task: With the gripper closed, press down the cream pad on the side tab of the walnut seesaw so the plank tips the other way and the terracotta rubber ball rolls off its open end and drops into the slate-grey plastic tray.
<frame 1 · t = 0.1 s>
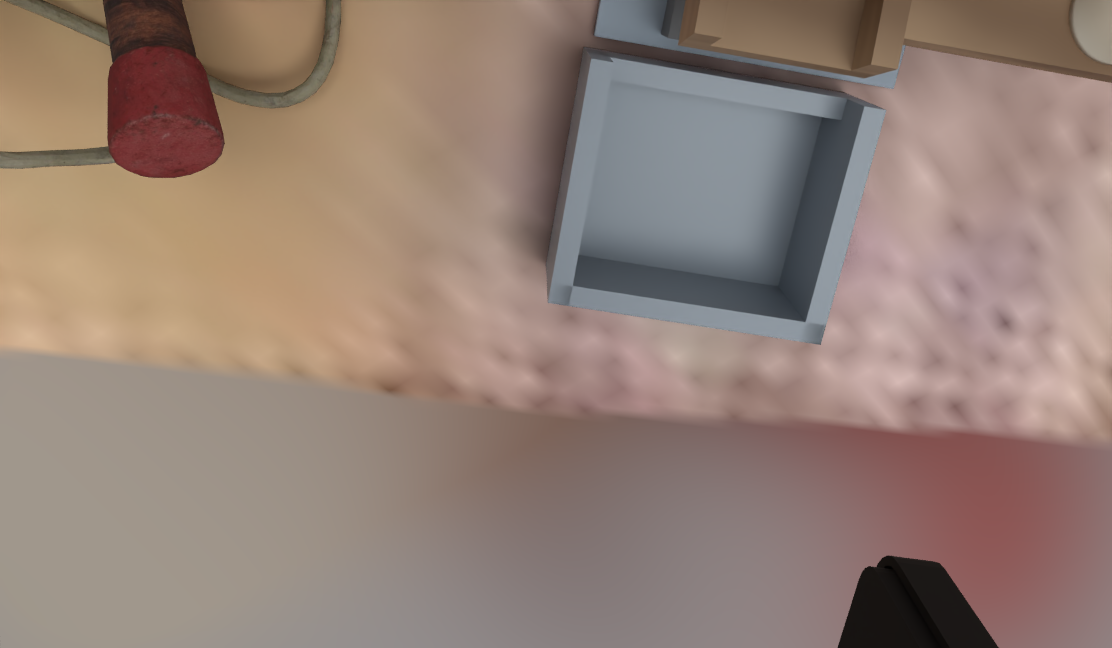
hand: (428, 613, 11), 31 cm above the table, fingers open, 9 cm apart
tray: (691, 180, 41), on the table
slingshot: (178, 1, 38), on the table
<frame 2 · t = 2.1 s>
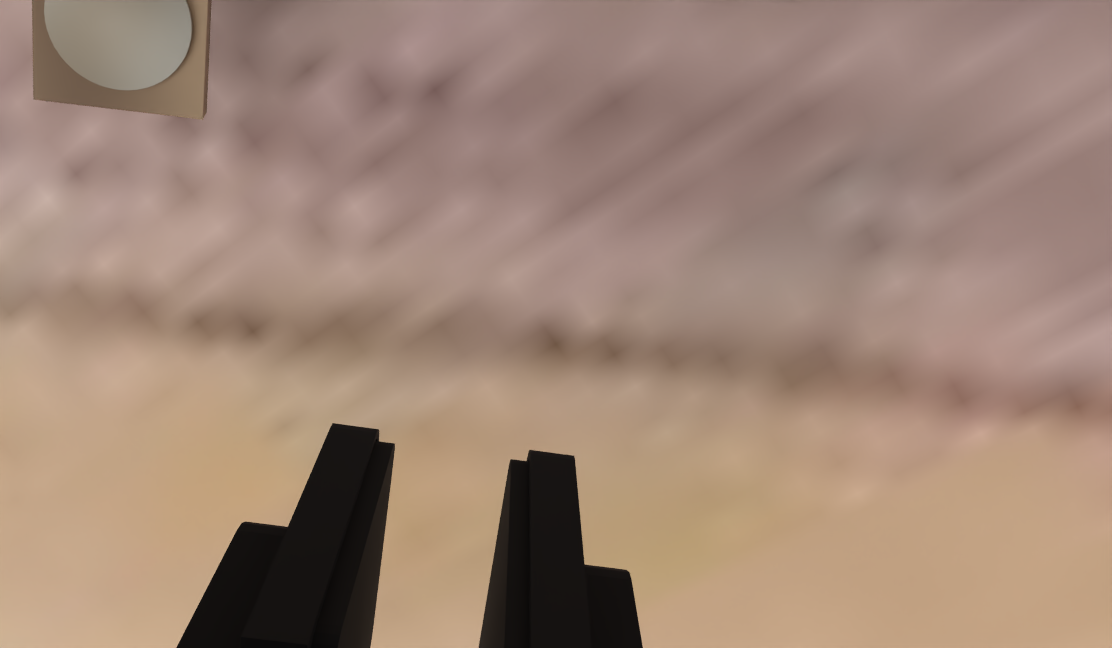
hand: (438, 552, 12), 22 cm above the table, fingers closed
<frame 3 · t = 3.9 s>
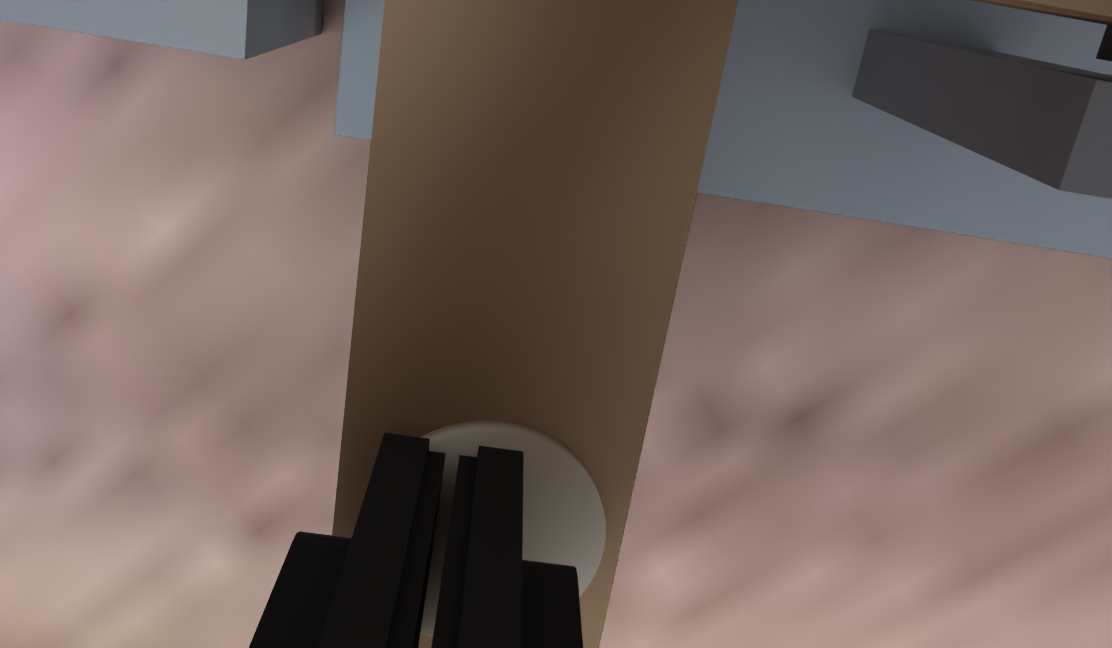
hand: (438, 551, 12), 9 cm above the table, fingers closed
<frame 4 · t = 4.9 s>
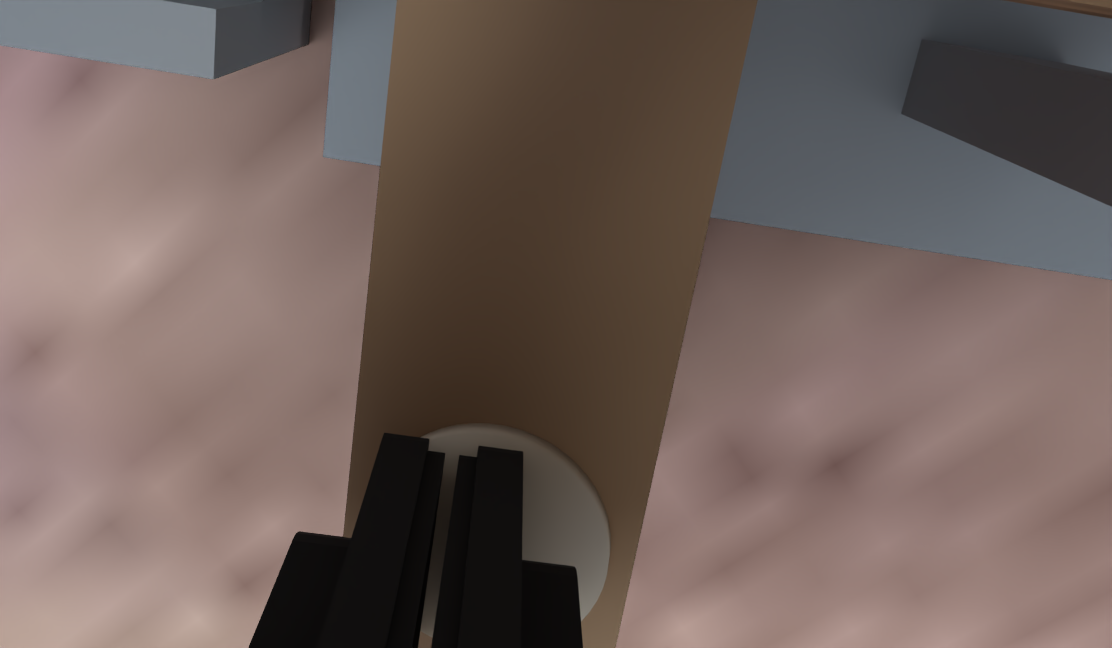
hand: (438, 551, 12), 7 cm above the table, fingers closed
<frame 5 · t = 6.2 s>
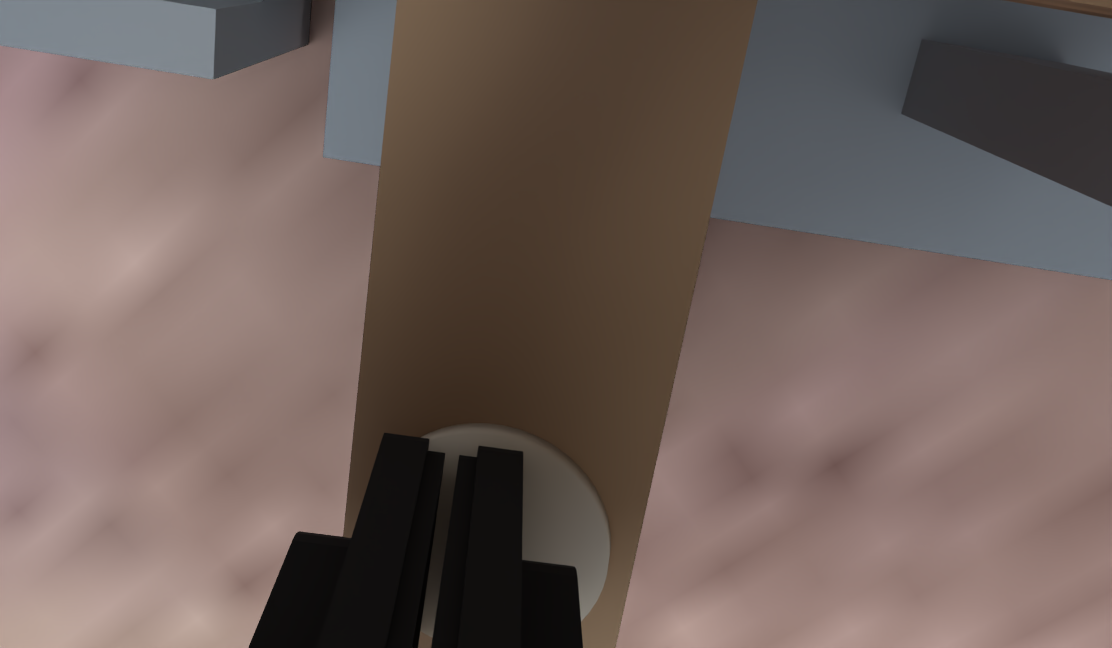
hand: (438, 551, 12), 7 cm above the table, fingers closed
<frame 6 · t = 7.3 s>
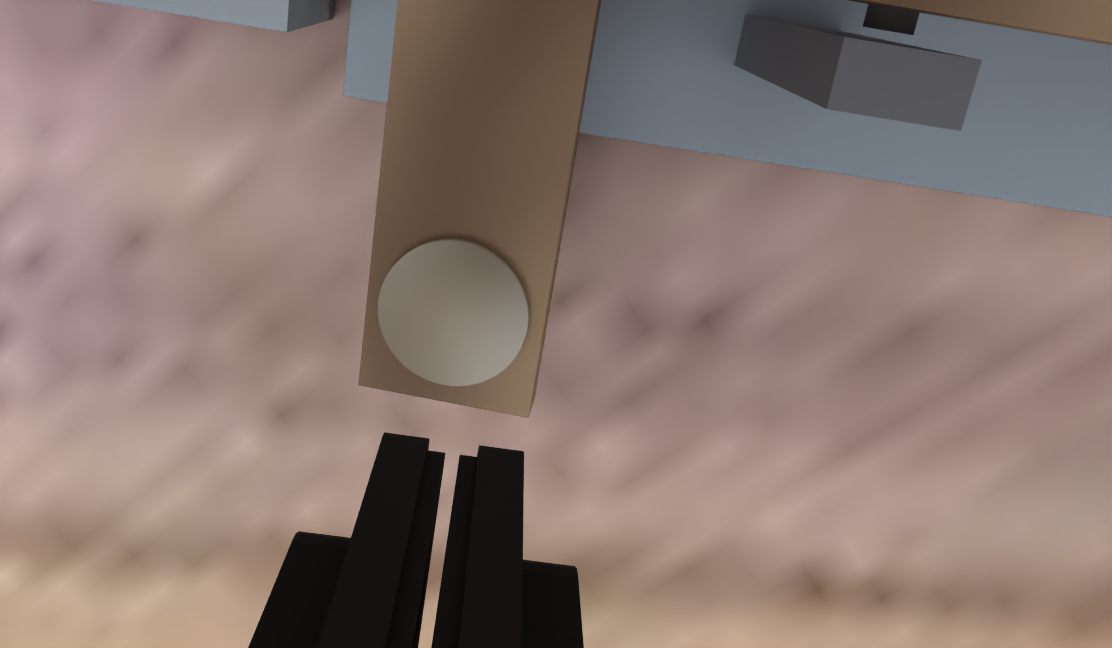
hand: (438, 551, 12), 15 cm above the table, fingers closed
seesaw: (886, 86, 17), point 8 cm above the table, hinge at 7.9°
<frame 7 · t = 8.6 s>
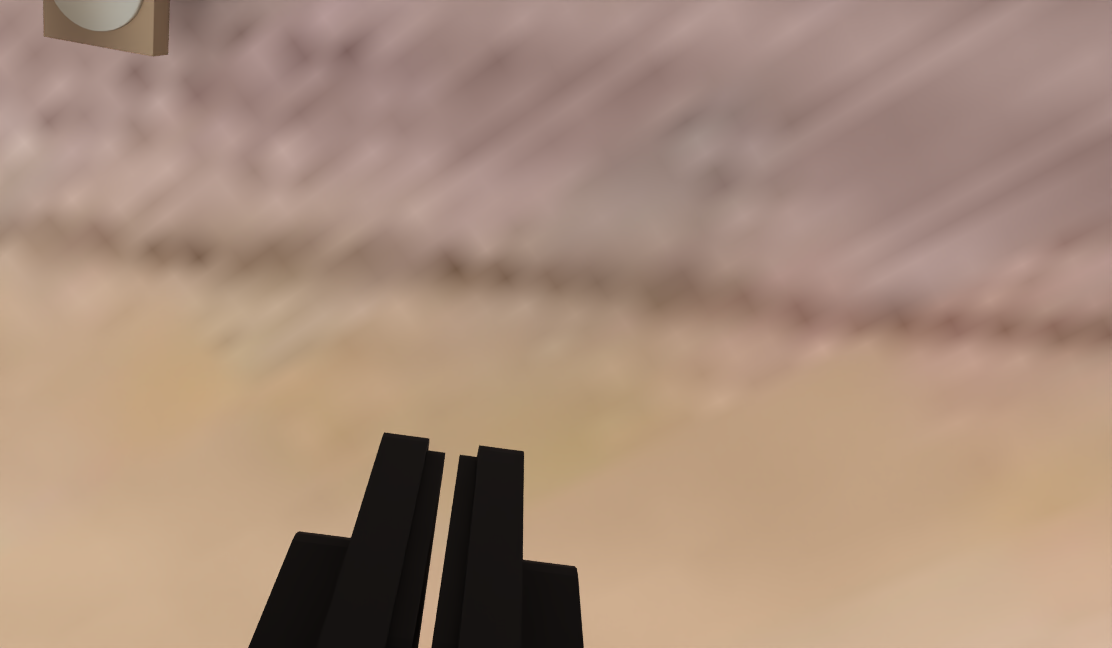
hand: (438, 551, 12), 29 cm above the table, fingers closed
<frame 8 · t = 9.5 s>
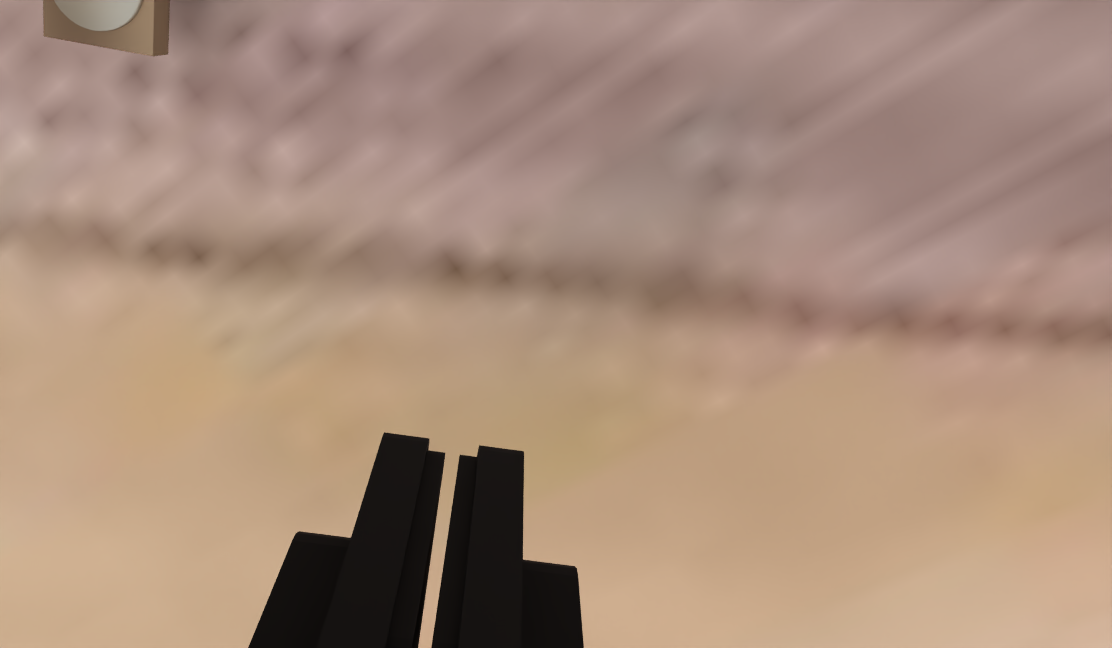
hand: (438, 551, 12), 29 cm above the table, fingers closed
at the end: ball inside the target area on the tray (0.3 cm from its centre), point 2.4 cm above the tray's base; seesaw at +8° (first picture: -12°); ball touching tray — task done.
